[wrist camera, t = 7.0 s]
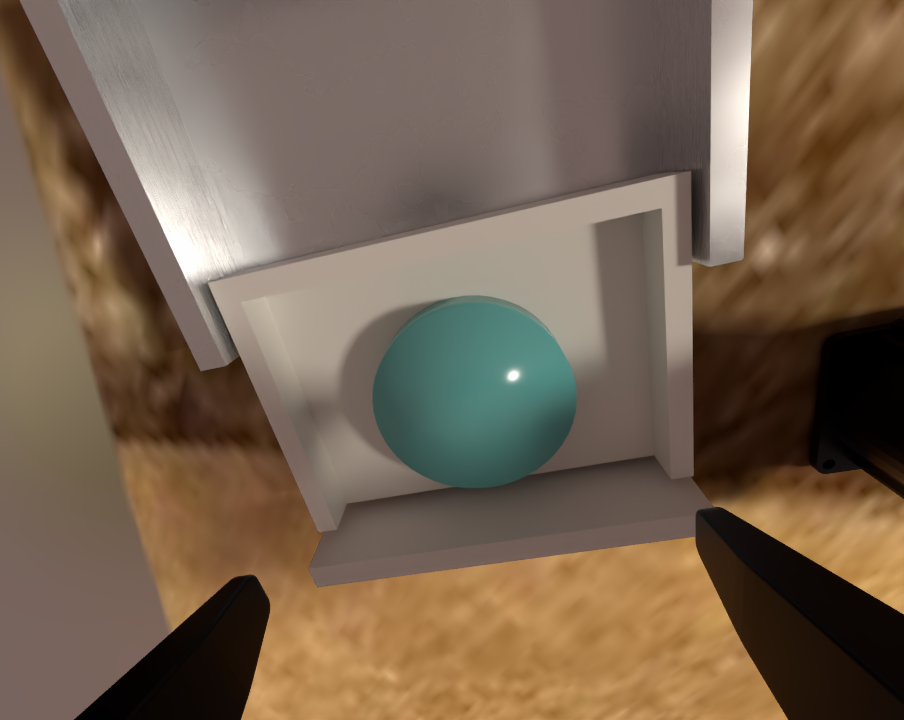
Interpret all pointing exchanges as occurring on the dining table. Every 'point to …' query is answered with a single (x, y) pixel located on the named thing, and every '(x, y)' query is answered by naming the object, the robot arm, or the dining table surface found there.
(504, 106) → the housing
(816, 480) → the dining table surface
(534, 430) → the teal hemisphere
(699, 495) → the tray
